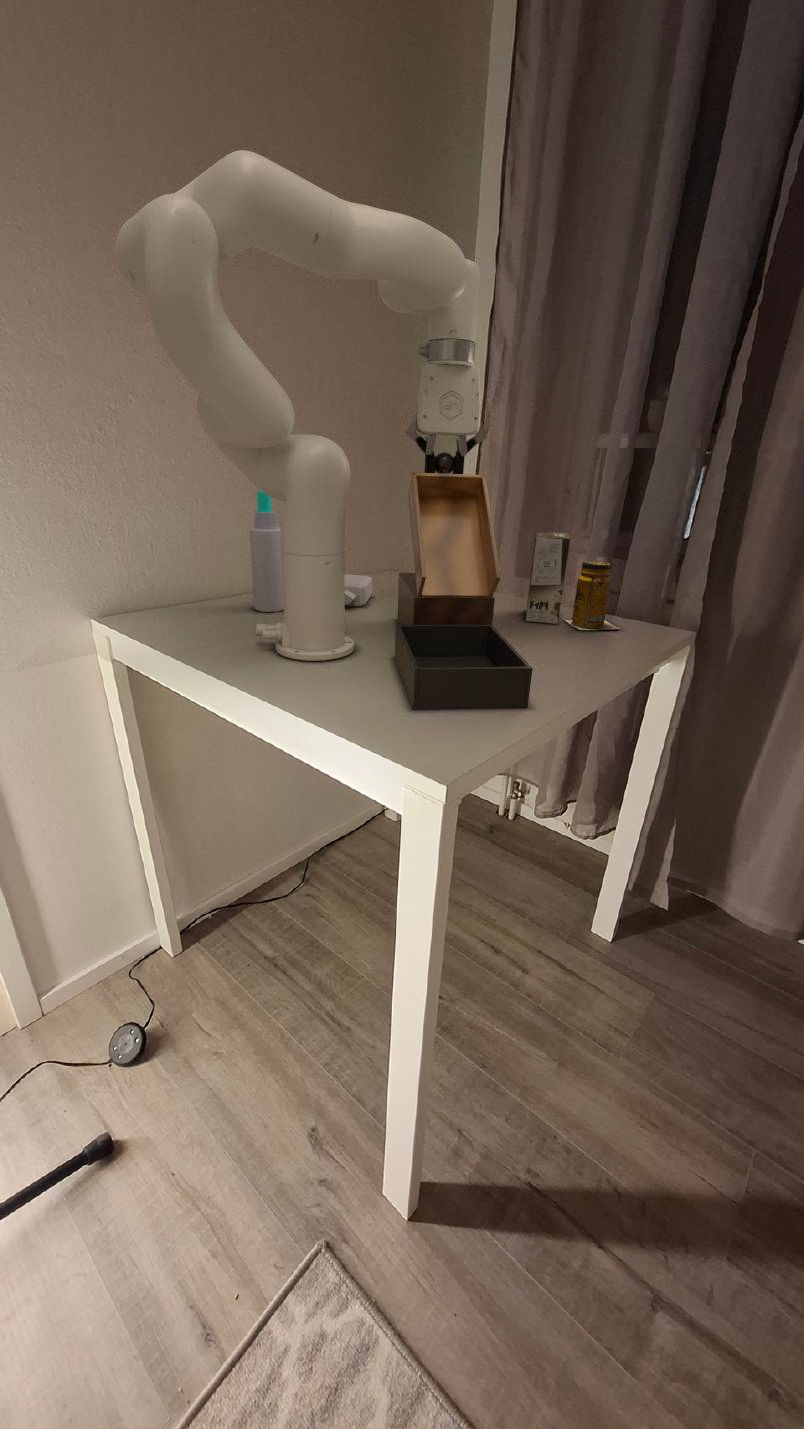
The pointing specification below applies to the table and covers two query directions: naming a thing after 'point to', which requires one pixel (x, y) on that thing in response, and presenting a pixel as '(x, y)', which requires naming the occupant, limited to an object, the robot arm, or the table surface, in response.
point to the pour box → (452, 533)
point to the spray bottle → (266, 558)
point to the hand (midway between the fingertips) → (443, 479)
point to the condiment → (592, 597)
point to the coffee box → (547, 577)
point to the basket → (460, 667)
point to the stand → (439, 607)
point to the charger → (357, 590)
